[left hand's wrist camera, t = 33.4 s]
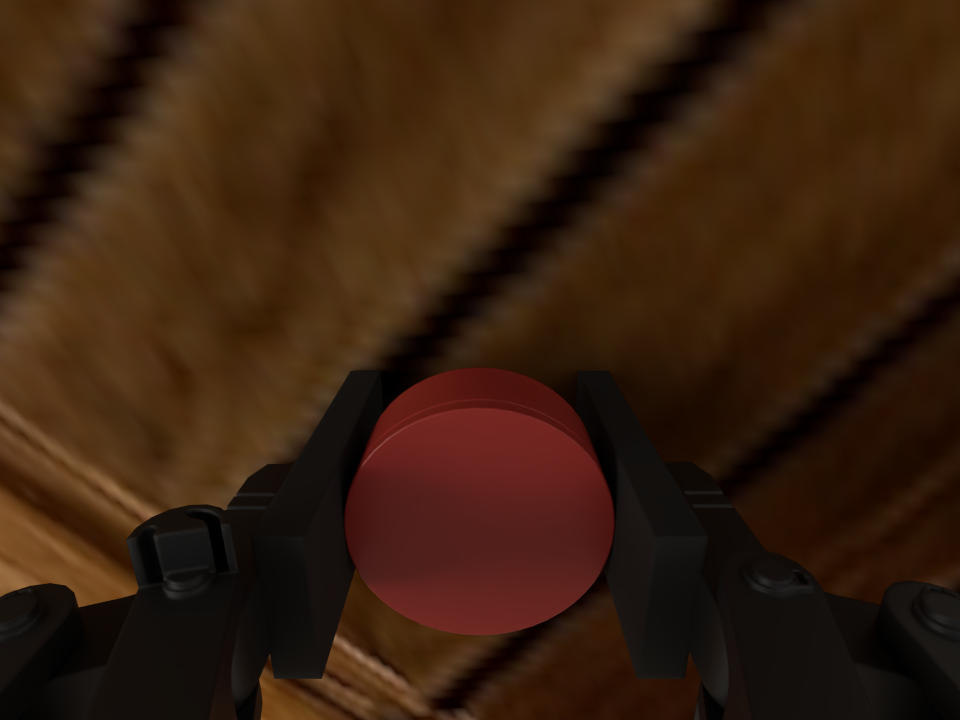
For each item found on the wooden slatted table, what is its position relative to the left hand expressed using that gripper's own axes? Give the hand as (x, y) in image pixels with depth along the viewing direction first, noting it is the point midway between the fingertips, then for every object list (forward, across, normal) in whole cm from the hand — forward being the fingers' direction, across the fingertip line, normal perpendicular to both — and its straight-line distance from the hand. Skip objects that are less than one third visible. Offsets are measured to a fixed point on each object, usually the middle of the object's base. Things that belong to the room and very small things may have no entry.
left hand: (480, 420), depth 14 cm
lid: (-4, 0, 0) cm, 4 cm away
